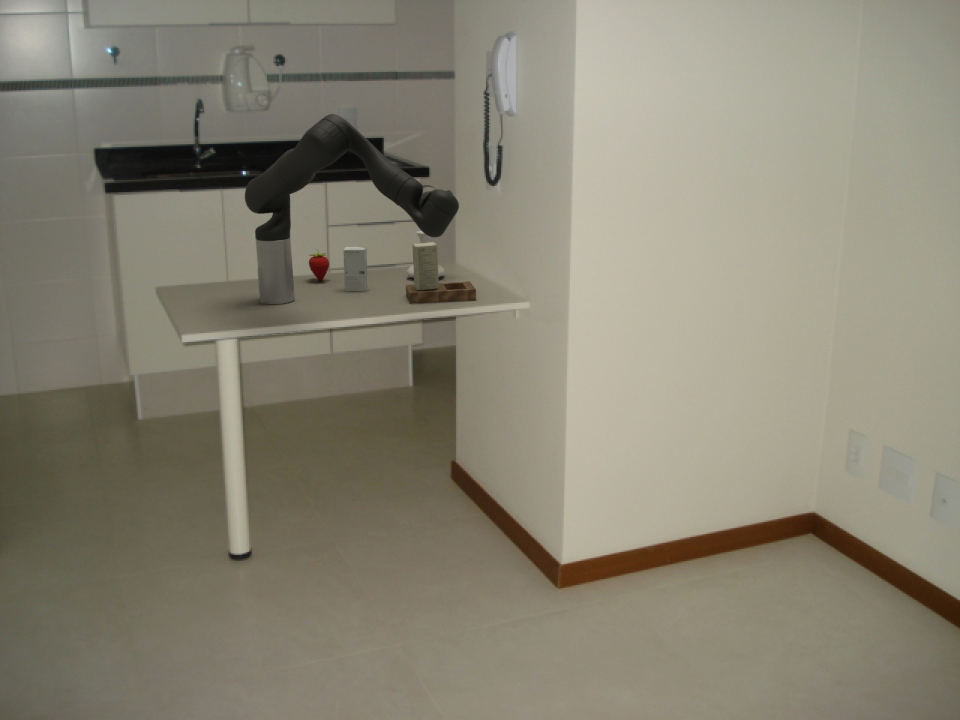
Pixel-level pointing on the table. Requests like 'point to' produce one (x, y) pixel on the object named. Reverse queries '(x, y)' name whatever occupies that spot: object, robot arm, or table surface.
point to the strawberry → (319, 265)
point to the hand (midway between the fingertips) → (420, 194)
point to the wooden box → (442, 293)
